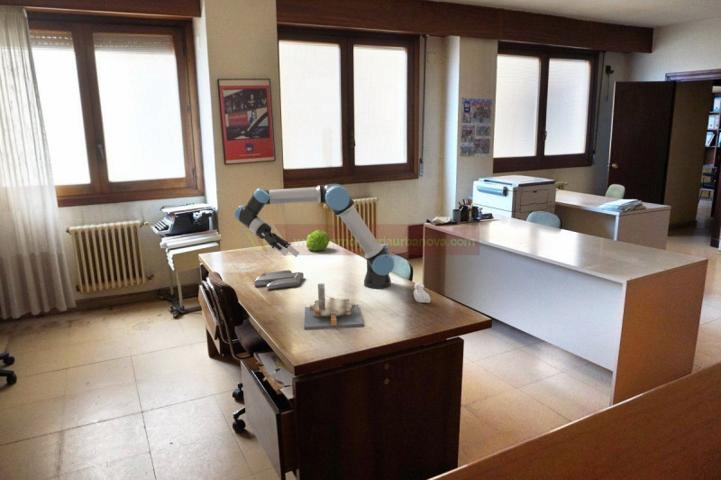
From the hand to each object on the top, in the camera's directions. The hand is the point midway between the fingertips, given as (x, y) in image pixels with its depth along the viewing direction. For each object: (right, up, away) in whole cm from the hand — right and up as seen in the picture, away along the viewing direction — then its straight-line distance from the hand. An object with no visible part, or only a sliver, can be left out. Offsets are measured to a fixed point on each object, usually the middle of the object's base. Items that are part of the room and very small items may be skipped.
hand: (292, 254), depth 240 cm
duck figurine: (+63, -24, +11) cm, 69 cm away
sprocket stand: (+20, -29, -8) cm, 36 cm away
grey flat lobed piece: (-13, -18, +46) cm, 52 cm away
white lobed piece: (+20, -26, -7) cm, 33 cm away
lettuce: (+1, 0, +123) cm, 123 cm away
